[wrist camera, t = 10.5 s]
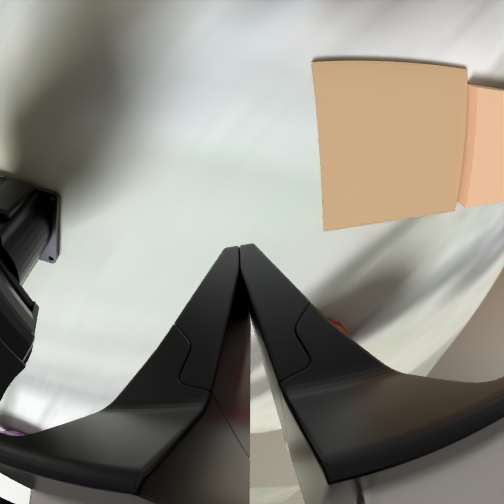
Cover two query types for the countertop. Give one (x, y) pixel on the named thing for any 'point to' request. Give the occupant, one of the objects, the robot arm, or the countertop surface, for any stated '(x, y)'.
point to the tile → (483, 148)
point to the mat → (388, 139)
